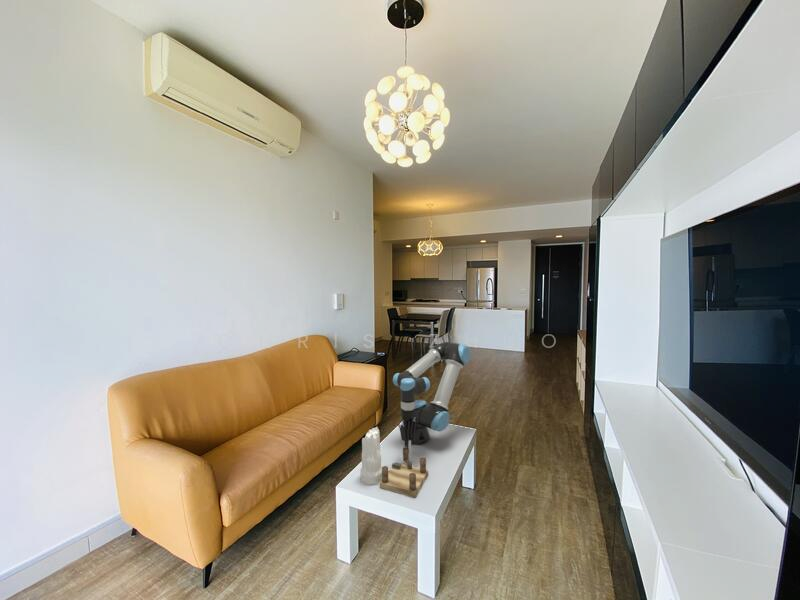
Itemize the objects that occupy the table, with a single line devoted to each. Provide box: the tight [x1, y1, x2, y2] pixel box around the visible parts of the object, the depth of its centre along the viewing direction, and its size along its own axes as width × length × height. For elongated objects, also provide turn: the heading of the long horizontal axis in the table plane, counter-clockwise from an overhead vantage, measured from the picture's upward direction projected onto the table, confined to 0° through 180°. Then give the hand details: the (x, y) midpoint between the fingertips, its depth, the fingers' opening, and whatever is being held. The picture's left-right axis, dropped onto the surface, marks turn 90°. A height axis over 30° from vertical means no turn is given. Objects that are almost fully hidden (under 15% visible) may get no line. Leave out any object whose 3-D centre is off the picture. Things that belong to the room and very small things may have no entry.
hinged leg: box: [402, 446, 413, 469], centre depth 163 cm, size 10×3×6 cm, turn 16°
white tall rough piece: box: [360, 426, 383, 486], centre depth 155 cm, size 11×11×25 cm
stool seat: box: [379, 456, 429, 498], centre depth 153 cm, size 18×18×9 cm
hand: (408, 451), depth 168 cm, fingers closed
